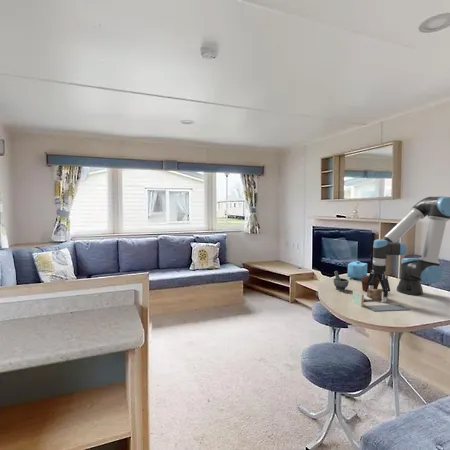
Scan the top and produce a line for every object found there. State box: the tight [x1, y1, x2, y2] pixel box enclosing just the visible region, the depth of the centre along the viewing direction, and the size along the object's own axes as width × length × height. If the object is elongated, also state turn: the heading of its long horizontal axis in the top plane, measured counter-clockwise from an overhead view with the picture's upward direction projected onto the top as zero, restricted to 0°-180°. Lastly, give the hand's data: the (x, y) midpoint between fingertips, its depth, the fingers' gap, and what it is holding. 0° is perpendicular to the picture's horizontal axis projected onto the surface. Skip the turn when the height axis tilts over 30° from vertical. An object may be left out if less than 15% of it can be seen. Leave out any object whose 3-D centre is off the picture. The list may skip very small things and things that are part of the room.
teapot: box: [347, 260, 368, 281], centre depth 244 cm, size 22×11×14 cm, turn 142°
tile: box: [351, 290, 365, 308], centre depth 183 cm, size 1×9×7 cm, turn 8°
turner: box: [363, 288, 389, 301], centre depth 193 cm, size 20×7×6 cm, turn 98°
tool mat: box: [365, 304, 411, 312], centre depth 177 cm, size 22×8×1 cm, turn 98°
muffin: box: [360, 275, 380, 293], centre depth 211 cm, size 12×11×10 cm
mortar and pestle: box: [332, 270, 349, 292], centre depth 213 cm, size 11×9×12 cm
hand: (377, 298), depth 194 cm, fingers open, 12 cm apart
